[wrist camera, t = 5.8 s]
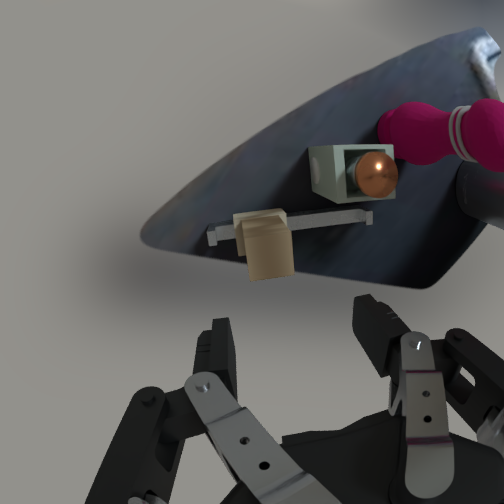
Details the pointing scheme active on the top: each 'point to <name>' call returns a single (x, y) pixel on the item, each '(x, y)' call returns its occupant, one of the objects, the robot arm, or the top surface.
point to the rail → (300, 221)
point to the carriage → (265, 243)
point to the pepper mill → (446, 133)
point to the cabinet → (340, 171)
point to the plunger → (371, 173)
